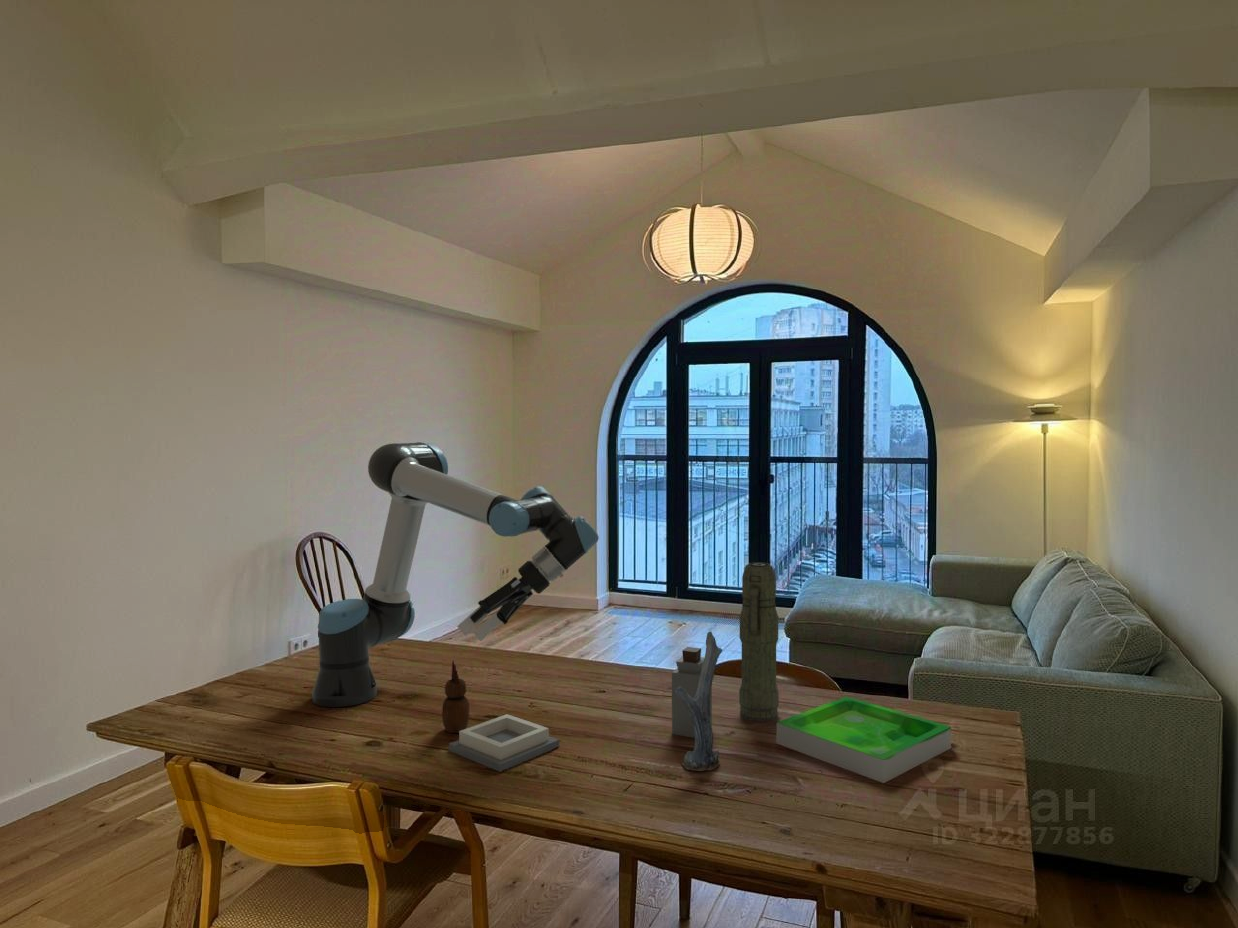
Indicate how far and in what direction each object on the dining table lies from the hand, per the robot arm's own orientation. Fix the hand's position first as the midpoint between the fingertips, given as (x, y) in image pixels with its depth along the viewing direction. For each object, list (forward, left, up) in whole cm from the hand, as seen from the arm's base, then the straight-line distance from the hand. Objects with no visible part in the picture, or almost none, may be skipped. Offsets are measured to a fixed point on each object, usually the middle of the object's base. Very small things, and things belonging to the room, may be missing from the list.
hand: (469, 634), depth 180 cm
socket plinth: (+18, -6, -20) cm, 27 cm away
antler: (+53, +15, -20) cm, 59 cm away
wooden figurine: (+2, -6, -20) cm, 21 cm away
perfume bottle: (+42, +27, -20) cm, 54 cm away
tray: (+74, +43, -21) cm, 88 cm away
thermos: (+48, +45, -20) cm, 69 cm away
